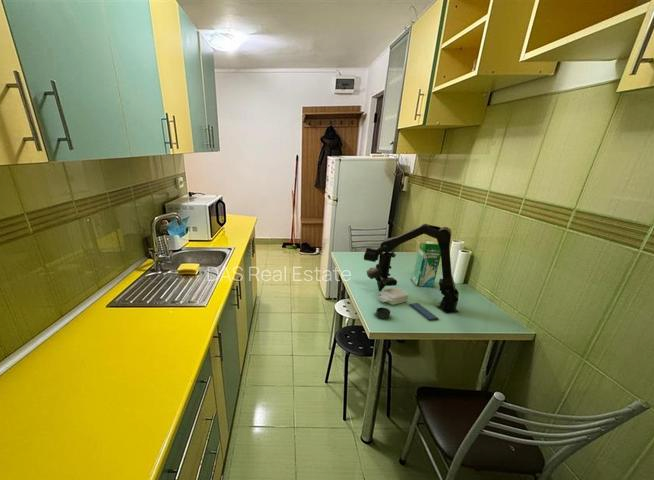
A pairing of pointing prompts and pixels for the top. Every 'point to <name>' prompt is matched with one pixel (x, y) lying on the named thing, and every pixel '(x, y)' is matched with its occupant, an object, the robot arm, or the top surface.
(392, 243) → the robot arm
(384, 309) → the black knob
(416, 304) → the dark blue flat bar
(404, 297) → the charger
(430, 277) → the milk carton
